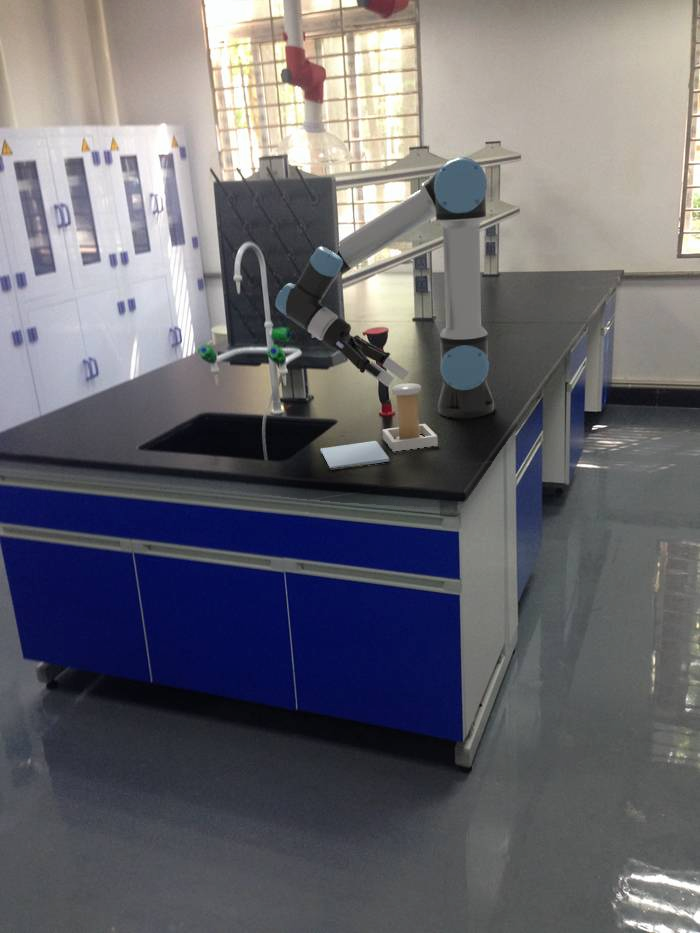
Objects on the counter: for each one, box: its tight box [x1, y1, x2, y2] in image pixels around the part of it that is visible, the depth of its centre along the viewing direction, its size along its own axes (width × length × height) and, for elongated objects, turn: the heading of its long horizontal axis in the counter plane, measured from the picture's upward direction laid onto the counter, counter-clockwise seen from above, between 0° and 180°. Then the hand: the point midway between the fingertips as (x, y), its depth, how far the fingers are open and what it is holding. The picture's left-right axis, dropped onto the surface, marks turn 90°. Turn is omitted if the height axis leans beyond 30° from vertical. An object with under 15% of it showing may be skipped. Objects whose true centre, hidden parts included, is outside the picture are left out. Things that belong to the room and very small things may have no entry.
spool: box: [391, 382, 424, 441], centre depth 202 cm, size 7×7×14 cm
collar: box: [382, 423, 439, 453], centre depth 205 cm, size 11×11×2 cm
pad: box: [319, 440, 390, 469], centre depth 198 cm, size 14×14×1 cm
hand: (398, 379), depth 204 cm, fingers open, 13 cm apart
